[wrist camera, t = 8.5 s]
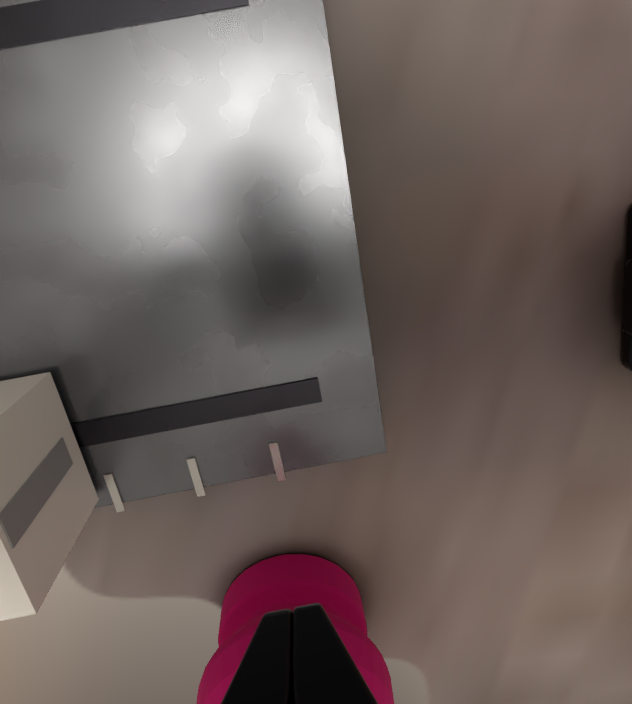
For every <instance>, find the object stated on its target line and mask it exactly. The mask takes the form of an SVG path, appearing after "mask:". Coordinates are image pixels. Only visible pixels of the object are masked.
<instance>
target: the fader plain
mask: <svg viewBox="0 0 632 704" xmlns="http://www.w3.org/2000/svg"><path fill="white" fill-rule="evenodd" d="M98 500H99V498H98V496H97V493H96V491H95V488H94V485H93V483H92V480H91V477H90V475H89V472H88V470H87V467H86V464H85V462H84V459H83V457H82V454H81V451H80V449H79V446H78V443H77V441H76V438H75V436H74V433H73V430H72V428H71V425H70V422H69V420H68V417H67V415H66V412H65V409H64V407H63V404H62V401H61V399H60V396H59V394H58V391H57V388H56V386H55V383H54V380H53V378H52V375H51V373H50V372H47V373H42V374H36V375H31V376H26V377H20V378H15V379H10V380H4V381H0V621H2V620H7V619H13V618H18V617H22V616H28V615H33V614H37V612H38V610H39V608H40V606H41V605H42V603H43V601H44V599H45V597H46V595H47V593H48V592H49V590H50V588H51V586H52V584H53V582H54V581H55V579H56V577H57V575H58V573H59V571H60V570H61V568H62V566H63V564H64V562H65V560H66V559H67V557H68V555H69V553H70V551H71V549H72V548H73V546H74V544H75V542H76V540H77V538H78V537H79V535H80V533H81V531H82V529H83V527H84V526H85V524H86V522H87V520H88V518H89V516H90V515H91V513H92V511H93V509H94V507H95V505H96V504H97V502H98Z"/></svg>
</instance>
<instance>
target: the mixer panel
mask: <svg viewBox="0 0 632 704" xmlns="http://www.w3.org/2000/svg"><path fill="white" fill-rule="evenodd" d="M47 372H50V373H51V375H52V378H53V380H54V383H55V386H56V388H57V391H58V394H59V396H60V399H61V401H62V404H63V407H64V409H65V412H66V415H67V417H68V420H69V422H70V425H71V428H72V430H73V433H74V436H75V438H76V441H77V443H78V446H79V449H80V451H81V454H82V457H83V459H84V462H85V464H86V467H87V470H88V472H89V475H90V477H91V480H92V483H93V485H94V488H95V491H96V493H97V496H98V498H99V500H98V502H97V504H96V505H95V507H94V508H96V507H101V506H106V505H112V504H114V506H115V508H116V511H117V512H121V511H125V510H126V508H125V506H124V503H123V502H127V501H133V500H138V499H143V498H149V497H154V496H159V495H164V494H170V493H175V492H180V491H185V490H191V489H195V490H196V494H197V497H199V496H205V495H206V492H205V489H204V487H206V486H212V485H217V484H222V483H227V482H233V481H238V480H243V479H248V478H254V477H259V476H264V475H269V474H275V473H276V476H277V481H283V480H286V478H285V473H284V472H285V471H290V470H296V469H301V468H306V467H311V466H317V465H322V464H327V463H332V462H338V461H343V460H348V459H353V458H359V457H364V456H369V455H374V454H380V453H385V452H387V451H386V444H385V437H384V430H383V423H382V416H381V409H380V402H379V395H378V388H377V381H376V374H375V366H374V359H373V352H372V345H371V338H370V331H369V324H368V317H367V310H366V303H365V296H364V289H363V282H362V275H361V267H360V260H359V253H358V246H357V239H356V232H355V225H354V218H353V211H352V204H351V197H350V190H349V183H348V176H347V168H346V161H345V154H344V147H343V140H342V133H341V126H340V119H339V112H338V105H337V98H336V91H335V84H334V77H333V69H332V62H331V55H330V48H329V41H328V34H327V27H326V20H325V13H324V6H323V0H0V381H4V380H10V379H15V378H20V377H26V376H31V375H36V374H42V373H47Z"/></svg>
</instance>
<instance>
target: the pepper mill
mask: <svg viewBox="0 0 632 704" xmlns="http://www.w3.org/2000/svg"><path fill="white" fill-rule="evenodd" d="M313 603H319V604H321V605H322V606H323V608H324V610H325V612H326V613H327V615H328V617H329V619H330V620H331V622H332V624H333V626H334V627H335V629H336V631H337V633H338V634H339V636H340V638H341V640H342V641H343V643H344V645H345V647H346V648H347V650H348V652H349V654H350V655H351V657H352V659H353V661H354V662H355V664H356V666H357V668H358V669H359V671H360V673H361V675H362V676H363V678H364V680H365V682H366V683H367V685H368V687H369V689H370V690H371V692H372V694H373V696H374V697H375V699H376V701H377V703H378V704H394V700H393V692H392V686H391V678H390V674H389V671H388V668H387V665H386V663H385V661H384V659H383V656H382V654H381V653H380V652H379V650H378V649H377V647H376V646H375V644H374V643H373V642H372V641H371V640H370V639H369V638H368V637H367V626H366V620H365V615H364V611H363V606H362V601H361V596H360V592H359V590H358V588H357V586H356V584H355V582H354V581H353V579H352V578H351V577H350V576H349V574H347V573H346V572H345V571H344V570H343V569H341V568H340V567H339V566H338V565H336V564H334V563H332V562H330V561H328V560H325V559H323V558H321V557H317V556H311V555H306V554H284V555H279V556H275V557H272V558H268V559H265V560H262V561H260V562H258V563H256V564H255V565H253V566H251V567H250V568H248V569H246V570H245V571H244V572H243V573H241V574H240V575H239V576H238V577H237V578H236V579H235V581H234V582H233V583H232V584H231V586H230V587H229V589H228V590H227V593H226V595H225V597H224V601H223V604H222V611H221V620H220V628H219V636H218V644H219V648H218V649H217V651H216V652H215V653H214V655H213V656H212V658H211V659H210V661H209V663H208V664H207V666H206V668H205V670H204V674H203V676H202V679H201V682H200V685H199V689H198V696H197V704H221V702H222V700H223V698H224V696H225V694H226V692H227V690H228V688H229V685H230V683H231V681H232V679H233V677H234V675H235V673H236V671H237V669H238V667H239V664H240V662H241V660H242V658H243V656H244V654H245V652H246V650H247V648H248V646H249V643H250V641H251V639H252V637H253V635H254V633H255V631H256V629H257V627H258V625H259V623H260V620H261V618H262V617H263V615H264V614H266V613H268V612H272V611H277V610H282V609H290V610H292V612H293V610H294V609H295V607H298V606H303V605H308V604H313Z"/></svg>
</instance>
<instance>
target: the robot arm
mask: <svg viewBox="0 0 632 704" xmlns="http://www.w3.org/2000/svg"><path fill="white" fill-rule="evenodd" d="M622 329H623V330H624V331H623V356H622V361H623V365H624V366H625V368H627V369H629V370H630V371H632V207H631V209H630V210H629V215H628V233H627V258H626V265H625V267H624V290H623V315H622ZM221 704H378V703H377V701H376V699H375V697H374V696H373V694H372V692H371V690H370V689H369V687H368V685H367V683H366V682H365V680H364V678H363V676H362V675H361V673H360V671H359V669H358V668H357V666H356V664H355V662H354V661H353V659H352V657H351V655H350V654H349V652H348V650H347V648H346V647H345V645H344V643H343V641H342V640H341V638H340V636H339V634H338V633H337V631H336V629H335V627H334V626H333V624H332V622H331V620H330V619H329V617H328V615H327V613H326V612H325V610H324V608H323V606H322V605H321V604H319V603H313V604H308V605H303V606H298V607H295V609H294V610H293V612H292V610H290V609H282V610H277V611H272V612H268V613H266V614H264V615H263V617H262V618H261V620H260V623H259V625H258V627H257V629H256V631H255V633H254V635H253V637H252V639H251V641H250V643H249V646H248V648H247V650H246V652H245V654H244V656H243V658H242V660H241V662H240V664H239V667H238V669H237V671H236V673H235V675H234V677H233V679H232V681H231V683H230V685H229V688H228V690H227V692H226V694H225V696H224V698H223V700H222V702H221Z"/></svg>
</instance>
